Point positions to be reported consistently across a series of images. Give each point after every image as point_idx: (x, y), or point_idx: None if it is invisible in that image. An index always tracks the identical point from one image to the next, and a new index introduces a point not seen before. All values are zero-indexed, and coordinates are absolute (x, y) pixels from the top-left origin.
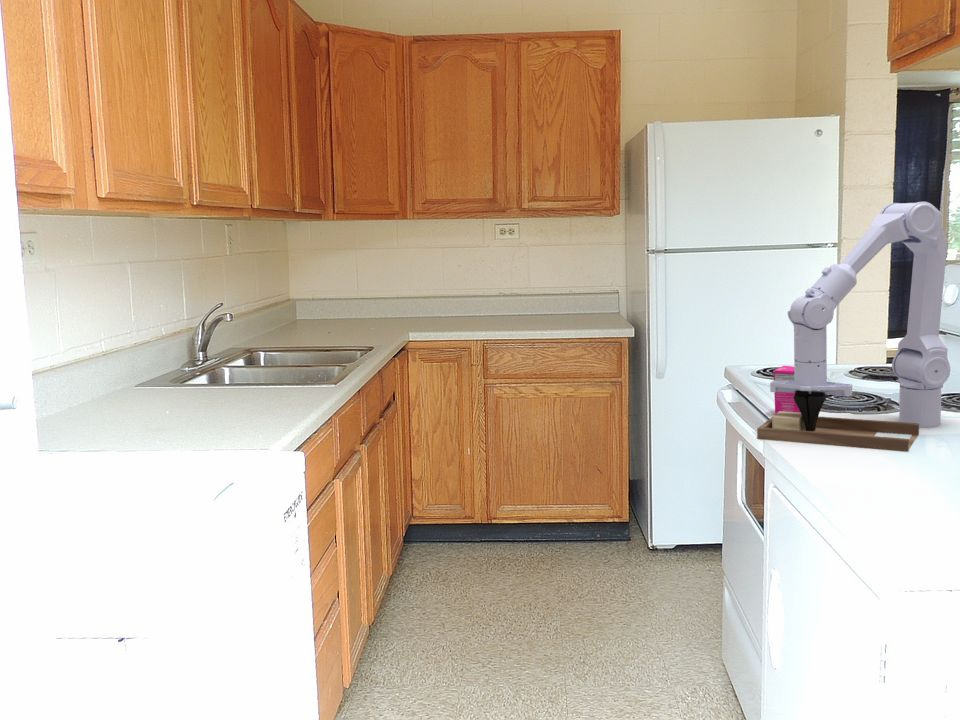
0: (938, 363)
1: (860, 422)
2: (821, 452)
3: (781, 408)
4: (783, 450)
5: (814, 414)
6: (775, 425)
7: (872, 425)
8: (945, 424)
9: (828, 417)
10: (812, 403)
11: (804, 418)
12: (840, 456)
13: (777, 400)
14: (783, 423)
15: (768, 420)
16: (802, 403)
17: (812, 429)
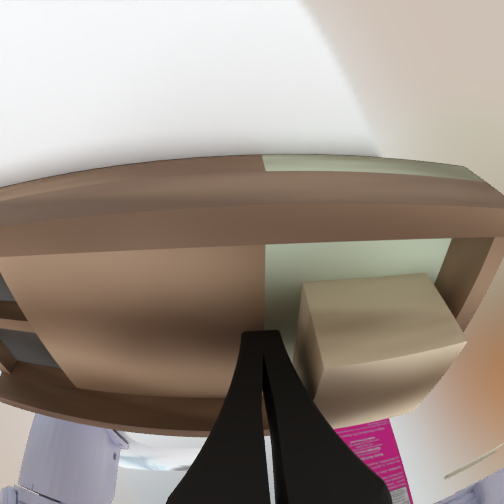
0: None
1: (113, 417)
2: (146, 159)
3: (379, 441)
4: (351, 124)
5: (227, 416)
6: (434, 307)
7: (83, 406)
8: None
9: None
10: (235, 489)
11: (292, 385)
12: (47, 133)
13: (393, 457)
14: (404, 324)
15: None
16: (317, 477)
17: (243, 340)
